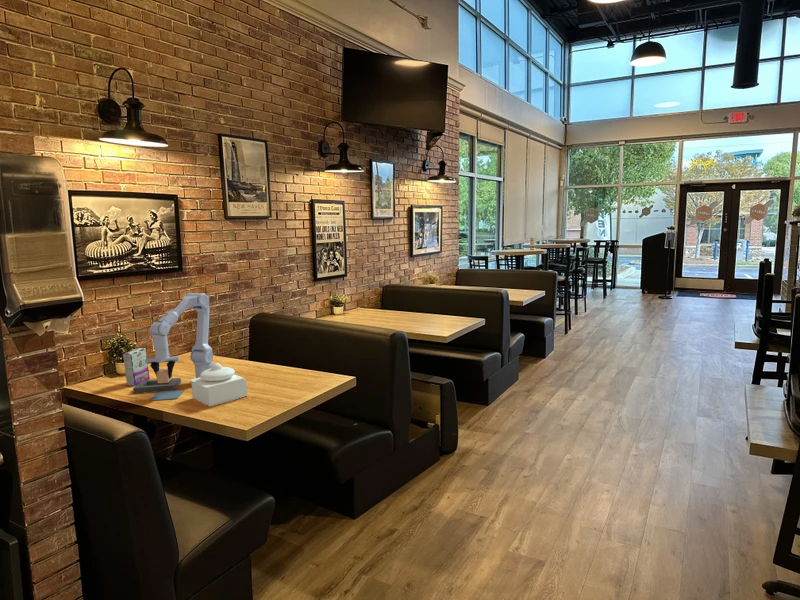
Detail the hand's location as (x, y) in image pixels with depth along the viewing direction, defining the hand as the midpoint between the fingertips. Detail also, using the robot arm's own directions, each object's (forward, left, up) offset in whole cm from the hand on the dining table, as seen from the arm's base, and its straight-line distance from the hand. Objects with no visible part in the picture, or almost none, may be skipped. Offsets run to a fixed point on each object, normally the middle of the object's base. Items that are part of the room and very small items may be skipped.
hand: (164, 377), depth 241 cm
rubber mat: (0, 0, -8) cm, 8 cm away
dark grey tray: (+8, -14, -8) cm, 18 cm away
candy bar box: (+21, -26, -9) cm, 34 cm away
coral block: (0, 0, -2) cm, 2 cm away
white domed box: (-25, +9, -9) cm, 28 cm away
